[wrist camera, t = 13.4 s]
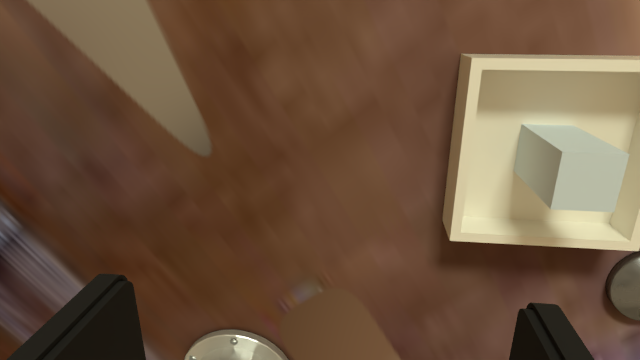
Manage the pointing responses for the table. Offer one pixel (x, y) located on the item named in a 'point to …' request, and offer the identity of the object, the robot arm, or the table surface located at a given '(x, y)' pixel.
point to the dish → (503, 136)
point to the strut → (570, 167)
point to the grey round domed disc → (626, 286)
